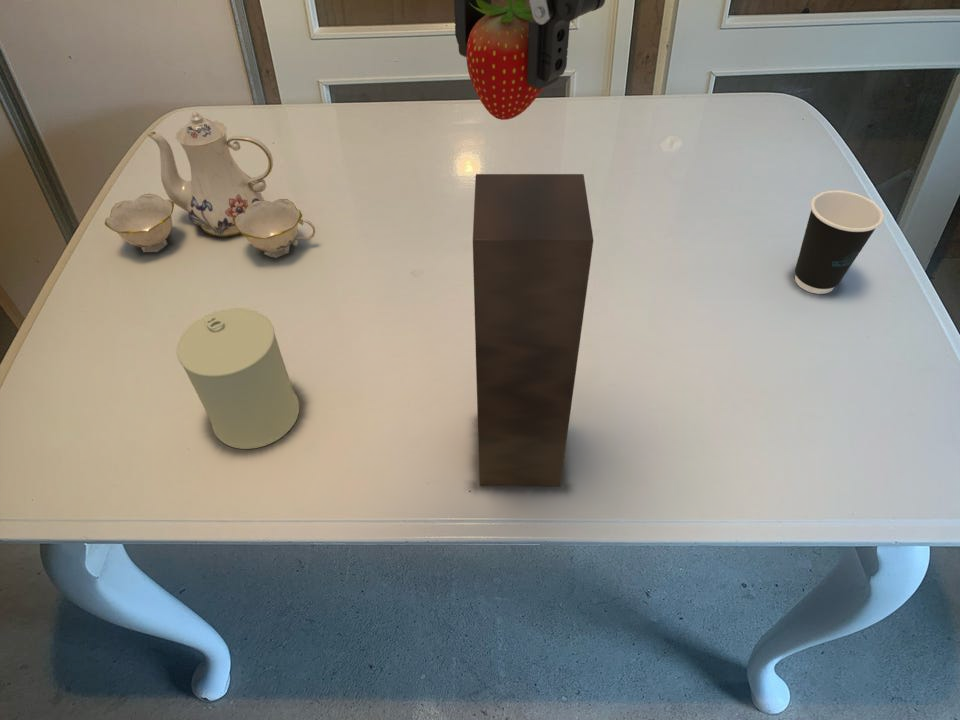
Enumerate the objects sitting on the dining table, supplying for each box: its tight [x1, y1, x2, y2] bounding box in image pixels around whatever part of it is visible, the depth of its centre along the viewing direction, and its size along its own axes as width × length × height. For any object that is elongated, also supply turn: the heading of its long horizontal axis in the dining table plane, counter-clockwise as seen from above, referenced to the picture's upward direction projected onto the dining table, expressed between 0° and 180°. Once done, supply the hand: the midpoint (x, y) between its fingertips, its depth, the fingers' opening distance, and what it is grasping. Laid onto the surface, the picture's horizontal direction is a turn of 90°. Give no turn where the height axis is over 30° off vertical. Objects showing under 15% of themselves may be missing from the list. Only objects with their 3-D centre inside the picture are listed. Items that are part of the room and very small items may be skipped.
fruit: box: [465, 0, 544, 121], centre depth 41 cm, size 5×5×8 cm
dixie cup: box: [794, 189, 885, 295], centre depth 83 cm, size 8×8×11 cm
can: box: [176, 307, 300, 450], centre depth 69 cm, size 9×9×12 cm
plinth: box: [472, 173, 594, 487], centre depth 59 cm, size 8×8×30 cm
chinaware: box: [104, 111, 316, 259], centre depth 90 cm, size 28×17×17 cm, turn 91°
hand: (508, 67), depth 41 cm, fingers closed on fruit, 5 cm apart
